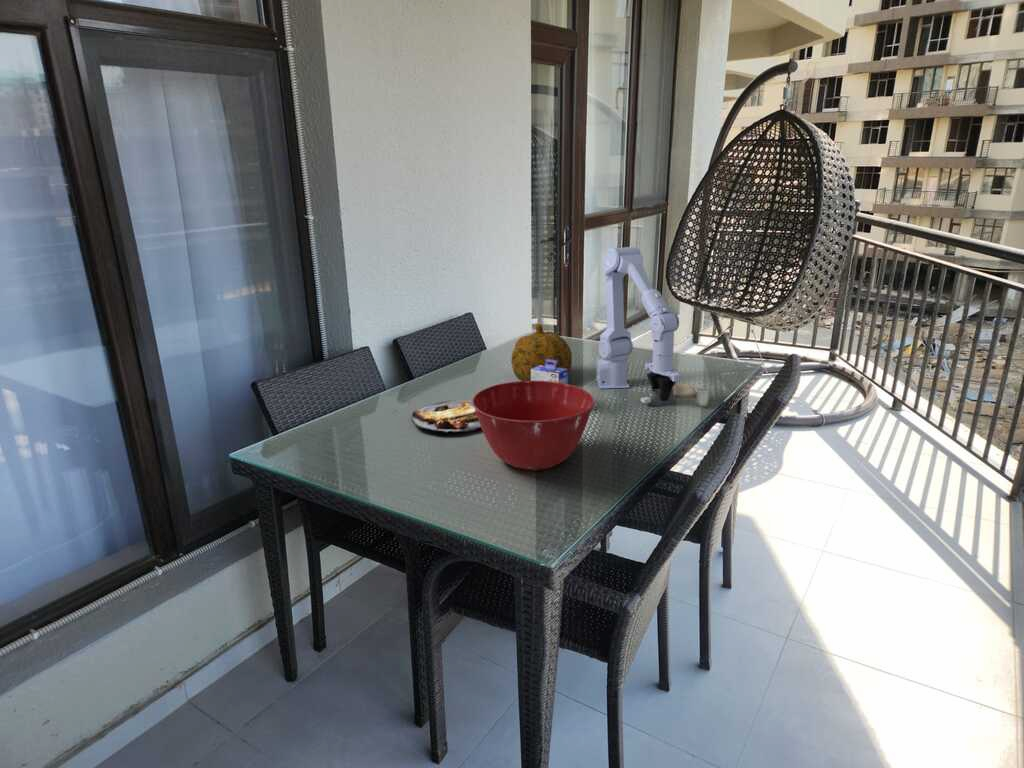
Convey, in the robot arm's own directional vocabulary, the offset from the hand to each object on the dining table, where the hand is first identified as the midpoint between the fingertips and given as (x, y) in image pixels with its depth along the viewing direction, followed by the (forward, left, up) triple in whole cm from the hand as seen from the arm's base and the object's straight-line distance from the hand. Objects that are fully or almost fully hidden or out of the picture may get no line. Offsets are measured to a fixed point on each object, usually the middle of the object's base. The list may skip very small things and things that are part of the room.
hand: (660, 398), depth 189 cm
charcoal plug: (-1, 0, -1) cm, 2 cm away
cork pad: (+7, +9, -1) cm, 12 cm away
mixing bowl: (-40, -36, -2) cm, 54 cm away
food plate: (-60, -8, -2) cm, 61 cm away
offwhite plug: (+12, -1, -2) cm, 12 cm away
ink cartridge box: (-33, -1, -2) cm, 33 cm away
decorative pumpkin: (-33, +27, -2) cm, 43 cm away
